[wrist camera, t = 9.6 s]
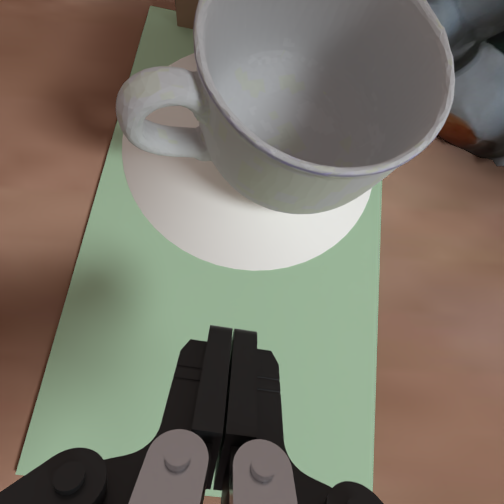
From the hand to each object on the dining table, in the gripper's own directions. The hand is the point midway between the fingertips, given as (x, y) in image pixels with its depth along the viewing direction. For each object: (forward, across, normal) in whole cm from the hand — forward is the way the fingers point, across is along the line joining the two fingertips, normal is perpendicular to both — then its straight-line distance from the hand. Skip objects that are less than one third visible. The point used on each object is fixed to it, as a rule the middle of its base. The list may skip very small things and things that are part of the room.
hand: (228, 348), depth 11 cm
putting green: (+10, 0, 0) cm, 10 cm away
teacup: (+13, -1, -3) cm, 13 cm away
